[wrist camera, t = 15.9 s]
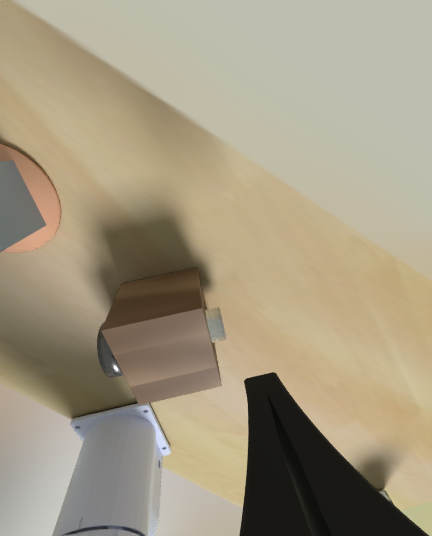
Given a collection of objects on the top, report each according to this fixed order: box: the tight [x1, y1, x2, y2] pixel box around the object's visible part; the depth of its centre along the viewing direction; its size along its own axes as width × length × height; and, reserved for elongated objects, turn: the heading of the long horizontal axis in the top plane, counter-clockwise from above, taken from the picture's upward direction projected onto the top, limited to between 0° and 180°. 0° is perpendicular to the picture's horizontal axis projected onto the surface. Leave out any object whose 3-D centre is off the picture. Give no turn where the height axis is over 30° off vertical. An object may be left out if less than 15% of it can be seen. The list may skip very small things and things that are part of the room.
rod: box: [97, 307, 226, 377], centre depth 18 cm, size 4×8×4 cm, turn 100°
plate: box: [0, 144, 61, 252], centre depth 15 cm, size 7×7×1 cm
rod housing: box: [101, 267, 222, 405], centre depth 18 cm, size 7×6×6 cm
